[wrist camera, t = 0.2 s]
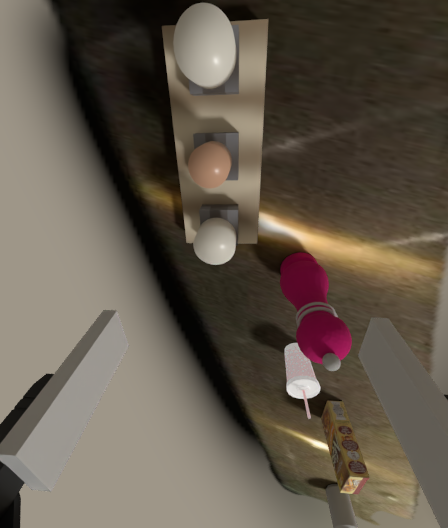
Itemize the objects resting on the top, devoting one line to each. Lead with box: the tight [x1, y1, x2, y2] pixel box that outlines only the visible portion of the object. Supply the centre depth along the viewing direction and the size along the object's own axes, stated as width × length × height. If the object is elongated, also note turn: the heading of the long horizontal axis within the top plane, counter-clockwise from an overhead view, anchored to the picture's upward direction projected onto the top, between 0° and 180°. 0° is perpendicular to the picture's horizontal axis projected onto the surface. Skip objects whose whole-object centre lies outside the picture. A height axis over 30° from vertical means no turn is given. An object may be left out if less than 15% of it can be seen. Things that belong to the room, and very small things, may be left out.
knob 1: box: [173, 3, 236, 89], centre depth 22 cm, size 5×5×5 cm
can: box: [326, 484, 358, 528], centre depth 82 cm, size 8×8×12 cm
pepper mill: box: [280, 252, 352, 371], centre depth 33 cm, size 7×7×20 cm
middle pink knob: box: [188, 141, 232, 188], centre depth 26 cm, size 4×4×6 cm
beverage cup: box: [285, 343, 320, 419], centre depth 46 cm, size 6×6×14 cm
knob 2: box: [193, 218, 236, 265], centre depth 31 cm, size 5×5×5 cm
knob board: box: [162, 19, 268, 245], centre depth 31 cm, size 25×11×6 cm, turn 2°
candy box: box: [321, 401, 370, 494], centre depth 56 cm, size 9×4×15 cm, turn 2°
